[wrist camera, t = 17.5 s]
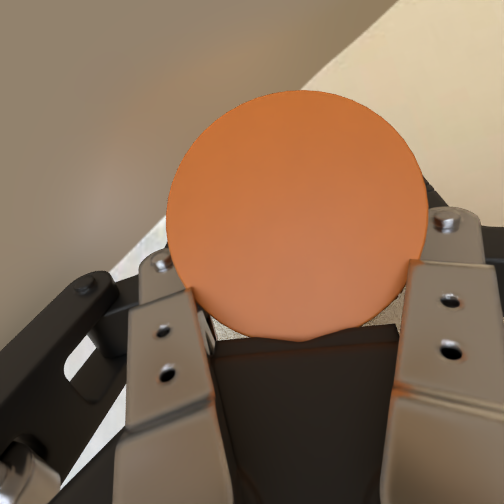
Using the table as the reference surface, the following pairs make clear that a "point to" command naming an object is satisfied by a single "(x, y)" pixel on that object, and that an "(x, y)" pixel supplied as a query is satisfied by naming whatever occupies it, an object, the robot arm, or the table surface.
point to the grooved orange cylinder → (296, 216)
